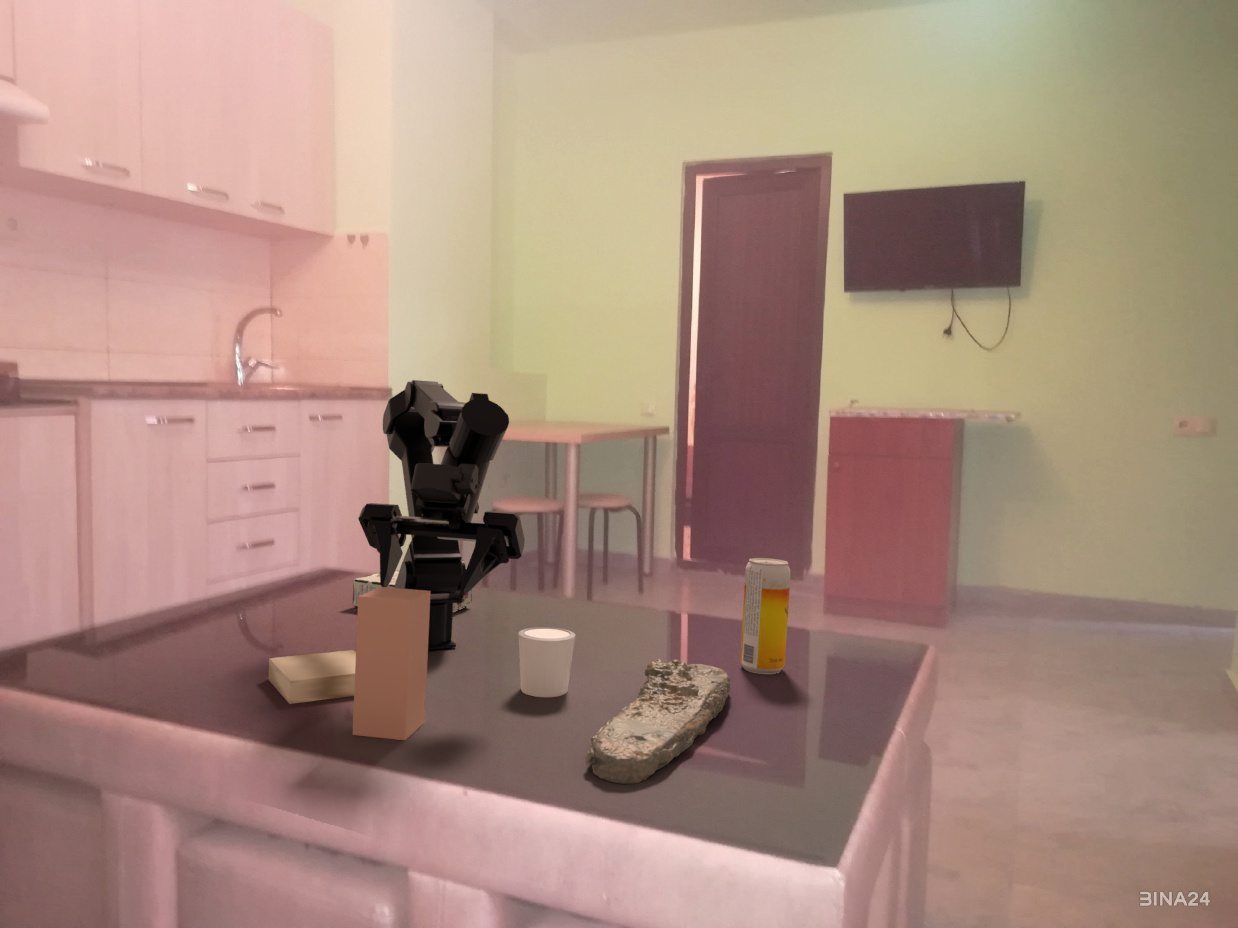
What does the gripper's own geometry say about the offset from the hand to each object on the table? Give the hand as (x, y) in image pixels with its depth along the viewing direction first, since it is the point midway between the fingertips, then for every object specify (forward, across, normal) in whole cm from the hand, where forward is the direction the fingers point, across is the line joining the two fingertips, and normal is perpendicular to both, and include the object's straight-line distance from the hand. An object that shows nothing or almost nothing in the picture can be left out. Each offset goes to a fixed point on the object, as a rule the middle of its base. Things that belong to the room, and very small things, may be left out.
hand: (422, 589), depth 98 cm
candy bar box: (-25, -11, +40) cm, 48 cm away
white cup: (+2, +12, +16) cm, 21 cm away
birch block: (+7, -13, +12) cm, 19 cm away
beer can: (-11, +39, +30) cm, 50 cm away
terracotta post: (+15, 0, +4) cm, 15 cm away
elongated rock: (+8, +28, +11) cm, 31 cm away
